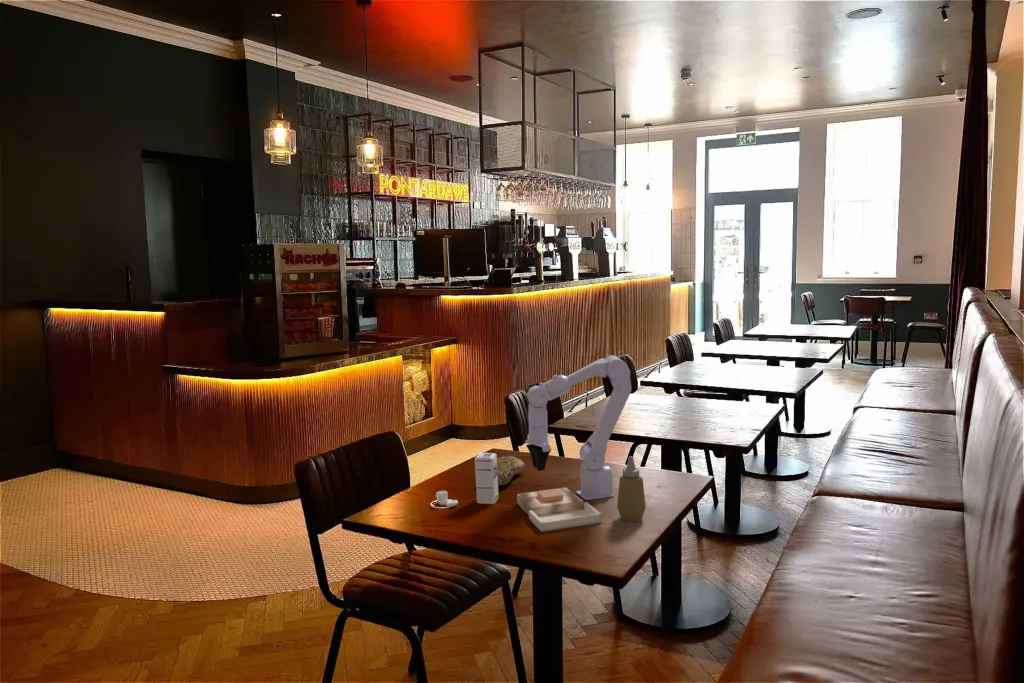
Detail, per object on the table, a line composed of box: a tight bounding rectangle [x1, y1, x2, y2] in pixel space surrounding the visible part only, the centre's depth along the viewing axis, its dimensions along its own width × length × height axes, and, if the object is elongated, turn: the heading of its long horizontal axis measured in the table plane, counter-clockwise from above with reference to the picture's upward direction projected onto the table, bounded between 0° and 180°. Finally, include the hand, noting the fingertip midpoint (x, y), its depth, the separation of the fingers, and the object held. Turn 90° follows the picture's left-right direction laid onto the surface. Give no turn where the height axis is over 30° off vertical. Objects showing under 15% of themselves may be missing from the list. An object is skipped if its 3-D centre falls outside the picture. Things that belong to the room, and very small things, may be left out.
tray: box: [528, 501, 603, 533], centre depth 203 cm, size 18×10×2 cm, turn 108°
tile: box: [537, 488, 563, 502], centre depth 214 cm, size 6×6×2 cm
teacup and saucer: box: [429, 490, 459, 509], centre depth 220 cm, size 9×8×4 cm
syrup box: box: [474, 452, 500, 505], centre depth 221 cm, size 6×6×14 cm
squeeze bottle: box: [616, 455, 647, 523], centre depth 203 cm, size 8×8×18 cm
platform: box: [516, 486, 584, 516], centre depth 214 cm, size 16×13×3 cm
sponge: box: [497, 455, 526, 487], centre depth 241 cm, size 13×8×20 cm
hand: (539, 468), depth 222 cm, fingers open, 3 cm apart
